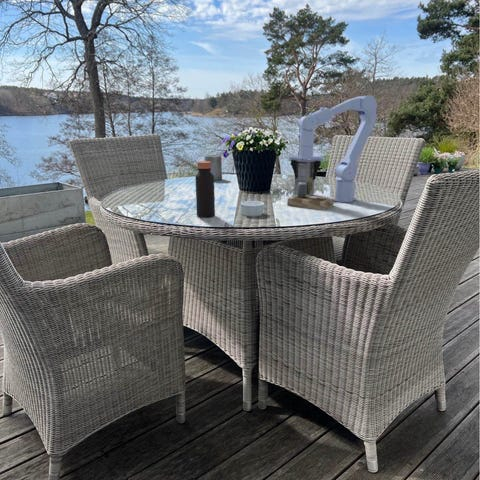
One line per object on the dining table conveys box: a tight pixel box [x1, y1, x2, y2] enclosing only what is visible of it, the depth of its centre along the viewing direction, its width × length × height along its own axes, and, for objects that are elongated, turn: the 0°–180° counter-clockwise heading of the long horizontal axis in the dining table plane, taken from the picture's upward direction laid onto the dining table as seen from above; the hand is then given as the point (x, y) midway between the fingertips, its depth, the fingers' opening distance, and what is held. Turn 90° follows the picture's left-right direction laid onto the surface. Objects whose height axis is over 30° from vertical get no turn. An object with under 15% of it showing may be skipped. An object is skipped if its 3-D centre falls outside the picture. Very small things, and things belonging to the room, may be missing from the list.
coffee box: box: [293, 159, 315, 196], centre depth 194 cm, size 9×6×16 cm
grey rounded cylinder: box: [297, 182, 306, 199], centre depth 175 cm, size 4×4×9 cm
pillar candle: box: [204, 154, 223, 182], centre depth 243 cm, size 10×10×15 cm
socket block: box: [286, 195, 334, 211], centre depth 174 cm, size 10×16×3 cm, turn 56°
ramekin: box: [240, 200, 265, 217], centre depth 160 cm, size 9×9×4 cm
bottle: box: [194, 160, 216, 219], centre depth 155 cm, size 7×7×20 cm
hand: (305, 178), depth 178 cm, fingers open, 7 cm apart
